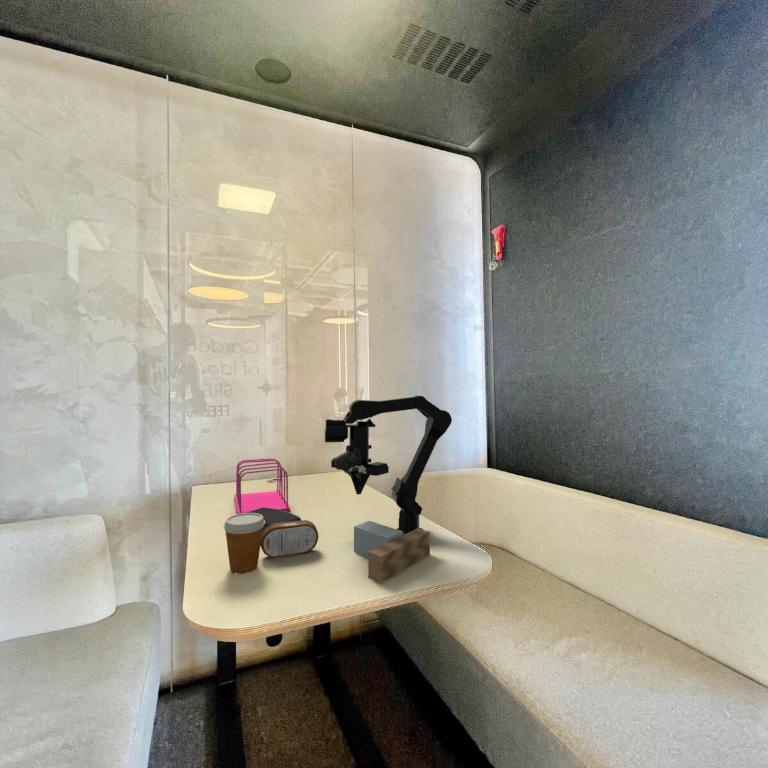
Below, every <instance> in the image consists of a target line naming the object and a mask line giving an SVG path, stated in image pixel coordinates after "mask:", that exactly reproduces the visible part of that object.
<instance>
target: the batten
mask: <svg viewBox="0 0 768 768" xmlns="http://www.w3.org/2000/svg"><path fill="white" fill-rule="evenodd" d="M419 528H420V527H419ZM419 528H417V529H415V530H413V531H411V532H409V533H406V534H403V535H402V536H400V537H398V538H396V539H394V540H392V541H390V542H388V543H385V544H383V545H381V546H379V547H377V548H375V549H373V550H371V551H369V552H368V558H367V562H368V563H367V565H368V566H367V578H368V579H371V580H373V581H375V582H378V583H379V584H383V583H384V582H386V581H387V580H389V579H391V578H392V577H395V576H396V575H398V574H399V573H401V572H403V571H405V570H406V569H408V568H409V567H412V566H413V565H414V564H416V563H418V562H420V561H421V560H423V559H425V558H427V557H428V556H430V554H431V531H428V530H425V529H423V528H422V529H423V530H422V529H419Z"/></svg>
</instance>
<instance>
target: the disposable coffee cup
mask: <svg viewBox="0 0 768 768" xmlns="http://www.w3.org/2000/svg"><path fill="white" fill-rule="evenodd" d="M264 524H265V520H264V519H263V516H262V515H261V514H257V513H242V514H237V513H236V514H233V515H230V516H229V517H227V518H226V519H225V522H224V524H223V525H222V527H223V529H224V531H225V537H226V545H227V554H228V555H227V556H228V562H229V570H230V572H231V573H232V572H233V574H236V573H237V575H243V574H248V573H252V572H254V571H255V570H256V569H258V567H259V559H260V550H261V546H260V545H261V538H262V530H263V526H264Z"/></svg>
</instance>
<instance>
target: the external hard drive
mask: <svg viewBox="0 0 768 768" xmlns="http://www.w3.org/2000/svg"><path fill="white" fill-rule="evenodd" d="M247 513H257V514H261V515H262V516H263V519H264V520H265V524H264V526H263V530H262V532H263V531H264V529H265V528H267V527H268V526H269V525H271V524H274V523H282V522H292V521H301V520H302V519H301V517H300V516H299V515H296V514H294V513H292V512H286V511H283V510H278V509H273V508H266V507H262V508H259V509H256V510H253V511H250V512H247Z"/></svg>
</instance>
